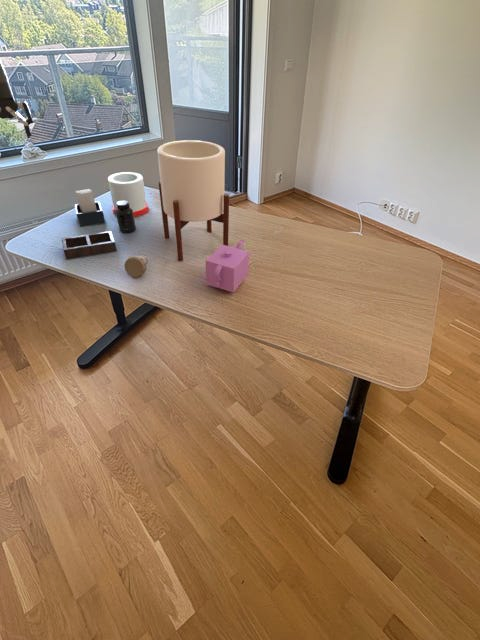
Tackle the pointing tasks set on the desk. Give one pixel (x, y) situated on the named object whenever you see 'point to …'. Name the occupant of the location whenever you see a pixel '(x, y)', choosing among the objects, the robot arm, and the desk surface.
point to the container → (128, 191)
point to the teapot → (227, 267)
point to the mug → (136, 265)
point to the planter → (192, 186)
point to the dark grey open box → (90, 216)
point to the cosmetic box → (86, 200)
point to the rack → (88, 245)
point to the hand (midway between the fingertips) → (14, 138)
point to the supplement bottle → (125, 217)
